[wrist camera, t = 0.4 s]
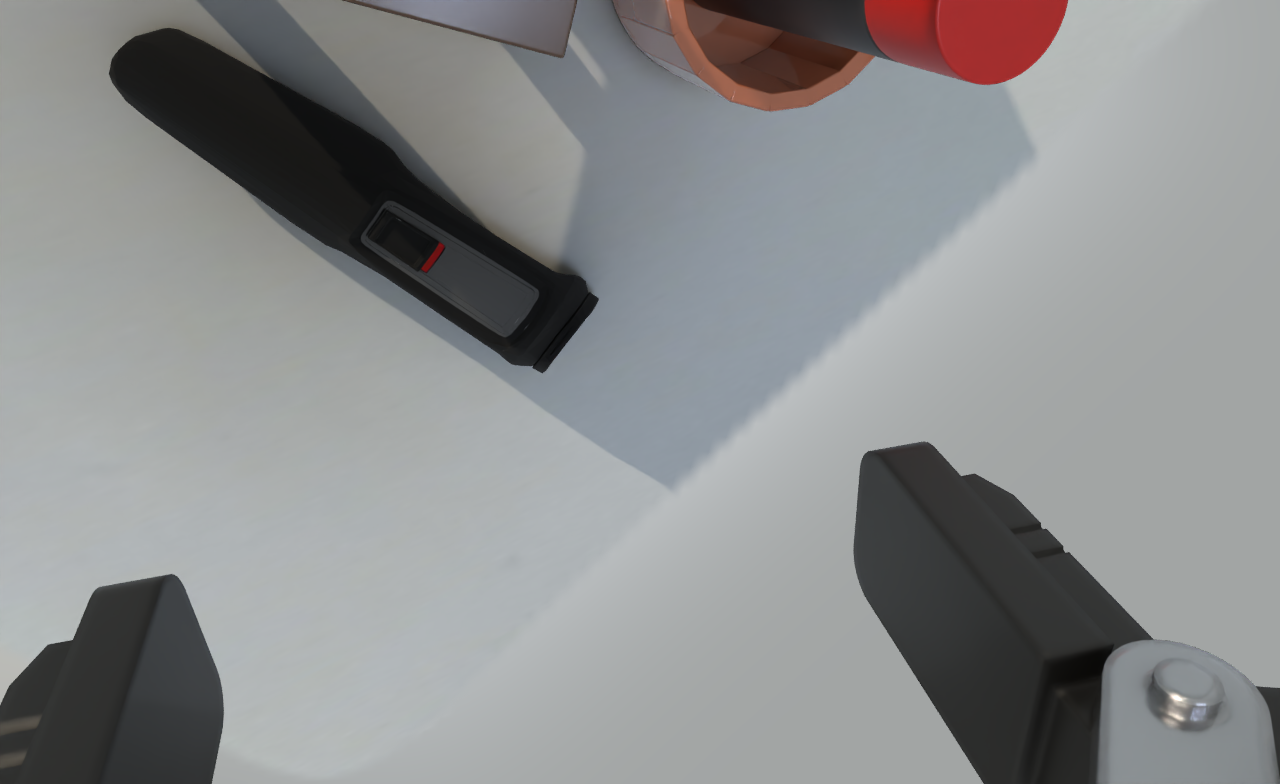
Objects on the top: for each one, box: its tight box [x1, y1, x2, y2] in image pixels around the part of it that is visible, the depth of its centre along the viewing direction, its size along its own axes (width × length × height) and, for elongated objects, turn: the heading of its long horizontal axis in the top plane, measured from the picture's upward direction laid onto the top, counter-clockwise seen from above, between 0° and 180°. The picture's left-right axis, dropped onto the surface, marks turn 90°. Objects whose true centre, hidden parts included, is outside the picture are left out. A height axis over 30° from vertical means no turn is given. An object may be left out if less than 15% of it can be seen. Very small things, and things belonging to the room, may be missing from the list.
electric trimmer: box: [109, 28, 599, 373], centre depth 28 cm, size 4×16×3 cm, turn 49°
